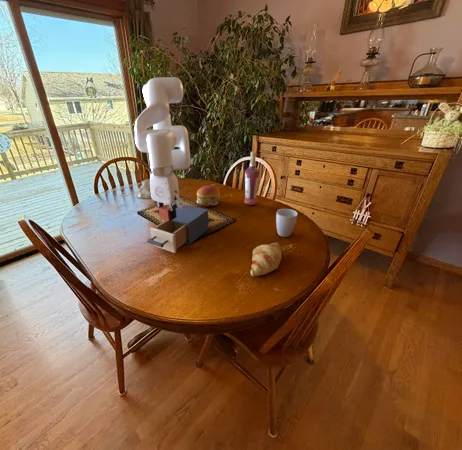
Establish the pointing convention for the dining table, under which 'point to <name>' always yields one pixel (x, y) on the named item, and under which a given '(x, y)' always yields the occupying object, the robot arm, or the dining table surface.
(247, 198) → the liquor
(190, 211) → the cabinet
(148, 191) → the ceramic model
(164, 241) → the drawer
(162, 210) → the block
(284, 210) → the cup
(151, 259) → the dining table surface
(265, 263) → the croissant
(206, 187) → the burger
